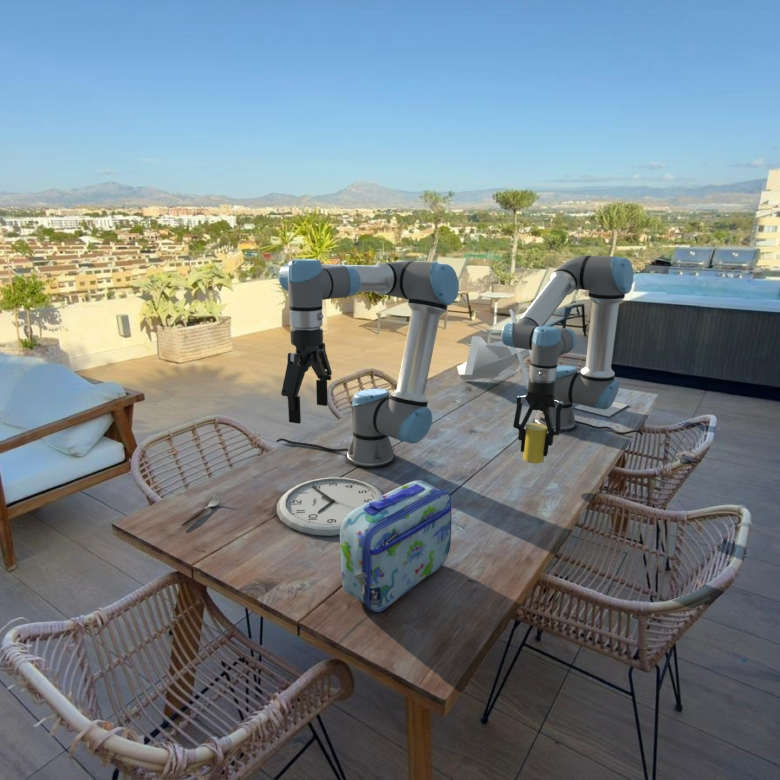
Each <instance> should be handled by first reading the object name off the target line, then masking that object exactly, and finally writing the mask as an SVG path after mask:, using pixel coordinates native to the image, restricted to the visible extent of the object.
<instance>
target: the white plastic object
mask: <svg viewBox="0 0 780 780" xmlns="http://www.w3.org/2000/svg"><path fill="white" fill-rule="evenodd" d="M508 311H509V314H510V317H511V320H512V323H517V322H518V319H517V316H516V313H515V312H514V310H513V309H512V308H510V309H508ZM531 353H532V350H527V349H521V348H514V347H510V346H506V345H504V344H503V342H502V340H499V341H493V342H490V343H487V342H486V341H485V340H484V339H483V337H482V336H481V335H472V337H471V340H470V345H469V350H468V355H467V359H466V361H465V362H464V363H462V364H459V365H457V366H456V368H457V372H458V376H459V377H460V379H461V380H462V381H473V380H480V379H490V380H492V379H496V378H497V377H498V378H499V377H500V374H502V372H504V371H506V370H507V369H508V368H510V367H511V366H512V365H514V364H515V363H517V362H519V366H520V369H521V373H522V376H523V378H524V382H525V386H526V388H528V382H529V380H530V378H529V372H528V370H527V366H526V363H525V360H524V358H525V357H527V356H529V357H530V358H531Z"/></svg>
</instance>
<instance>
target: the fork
mask: <svg viewBox="0 0 780 780" xmlns="http://www.w3.org/2000/svg"><path fill="white" fill-rule="evenodd" d="M224 494H225V493H223V492H220V491H217V492H216V494H215V495H214V496H213V498H212V499H211V500H210V502H209V503H208V504H207V506H206V507H204V508H202V509H200V510H198V511H197V512H195V513H194V514H193V515H192V516H190V517H189V518H188V519H186V520H185V521H184V522H183V523H182V524H181V525H180V526H181V527H183V526H185V525H187V524H189V523H190V522H191V521H193V520H195V519H196V518H198V517H199V516H201V515H202V514H203V513H204V512H205V511H206V510H207V509H208V508H212V507H216V506H218V505H219V504H220V503H221V501H222V498H223V497H224Z"/></svg>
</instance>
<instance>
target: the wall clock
mask: <svg viewBox="0 0 780 780" xmlns="http://www.w3.org/2000/svg"><path fill="white" fill-rule="evenodd" d="M384 494H385V493H383V492H382V491H381V490H380V489H379V488H377V487H376V486H374V485H372V484H371V483H369V482H365V481H362V480H359V479H355V478H349V477H338V476H337V477H335V476H333V477H332V476H331V477H322V478H317V479H312V480H307V481H305V482H302V483H299V484H297V485H295V486H293V487H292V488H290V489H288V490H287V491H286V492H285V493H284V494H283V495H281V496H280V498H279V499H278V502H277V503H276V515H277V517H278V518H279V520H280V521H281V522H282V523H283V524H285V525H286V526H287V527H288V528H290V529H293V530H295V531H297V532H299V533H303V534H308V535H312V536H327V537H328V536H329V537H331V536H332V537H333V536H340V530H341V526H342V523H343V521H344V519H345V518H346V516H347V515H348V514H349V513H350V512H351V511H353V510H354V509H356V508H358V507H360V506H362V505H364V504H366V503H368V502H370V501H372V500H374V499H376V498H378V497H380V496H382V495H384Z"/></svg>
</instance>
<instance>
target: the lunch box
mask: <svg viewBox="0 0 780 780" xmlns="http://www.w3.org/2000/svg"><path fill="white" fill-rule="evenodd" d="M383 494H384V495H382V496H380V497H378V498H376V499H374V500H372V501H370V502H368V503H366V504H364V505H362V506H360V507H358V508H356V509H354V510H353V511H351V512H350V513H349V514H348V515H347V516H346V518H345V519H344V521H343V523H342V526H341V530H340V535H339V551H340V574H341V576H340V577H341V585H342V588H343V589H342V590H343V591H344V593H346V594H348V595H350V596H352V597H353V598H355V599H357V600H358V601H359V602H361V603H362V604H364V605H365V606H366V608H367V609H369V610H370V611H371V612H374V613H381V612H384V611H385V610H386V609H387V608H389V607H390V606H391V605H392V604H393V603H395V602H396V601H397V600H399V599H400V598H401V597H402V596H404V595H405V594H407V593H408V592H410V591H411V590H412V589H413V588H415V587H416V586H417V585H418V584H419V583H420V582H421V581H423V580H425V579H426V578H427V577H429V576H430V575H432V574H434V573H435V572H436V571H438V570H439V569H440V568H441V567H442V566H443V565H444V563H445V562H446V560H447V558H448V556H449V553H450V550H451V549H450V548H451V545H452V543H451V542H452V497H451V494H450V492H449V491H448V490H446V489H438V488H437V487H435V486H434V485H431V484H429V483H427V482H426V481H424V480H421V479H416V480H413V481H410V482H408V483H405V484H403V485H401V486H399V487H397V488H394V489H393V490H390V491H388V492H387V493H383Z"/></svg>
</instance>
